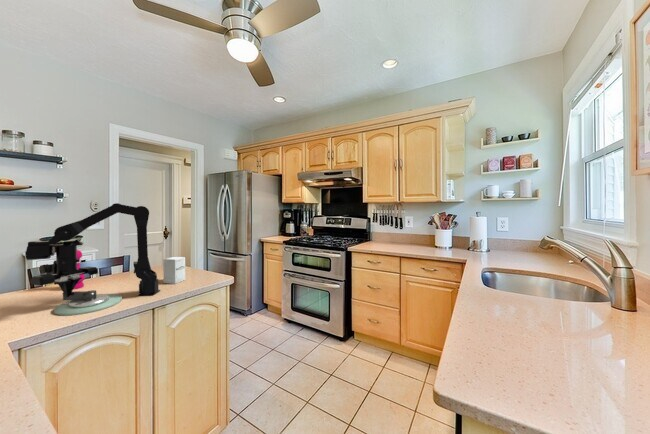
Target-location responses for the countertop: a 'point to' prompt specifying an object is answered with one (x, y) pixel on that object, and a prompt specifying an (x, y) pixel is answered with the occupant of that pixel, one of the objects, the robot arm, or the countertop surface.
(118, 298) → the dial plate
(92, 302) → the dial
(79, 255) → the pepper mill
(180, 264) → the supplement box
